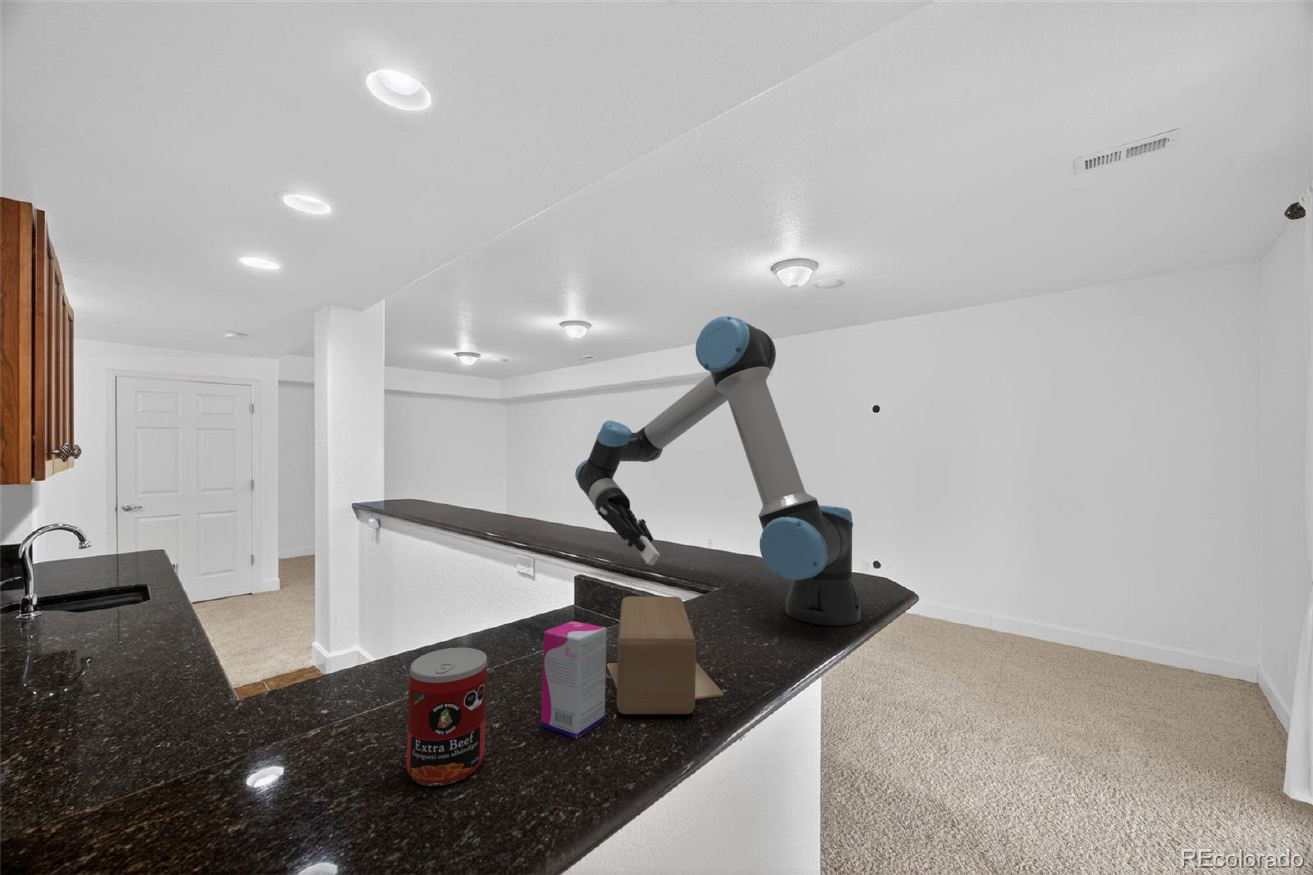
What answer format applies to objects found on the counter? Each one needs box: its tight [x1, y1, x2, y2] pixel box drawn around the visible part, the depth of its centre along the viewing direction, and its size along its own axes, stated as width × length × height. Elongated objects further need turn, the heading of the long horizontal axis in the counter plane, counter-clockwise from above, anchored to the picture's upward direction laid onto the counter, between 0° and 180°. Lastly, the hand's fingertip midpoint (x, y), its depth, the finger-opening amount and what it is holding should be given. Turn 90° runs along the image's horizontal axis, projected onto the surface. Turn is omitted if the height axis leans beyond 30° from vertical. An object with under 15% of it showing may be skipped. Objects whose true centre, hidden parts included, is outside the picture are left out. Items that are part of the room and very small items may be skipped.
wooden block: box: [616, 595, 697, 715], centre depth 76 cm, size 10×10×20 cm
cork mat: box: [606, 661, 725, 700], centre depth 78 cm, size 14×14×1 cm
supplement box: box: [540, 620, 608, 740], centre depth 65 cm, size 6×6×12 cm
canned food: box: [406, 647, 488, 783], centre depth 56 cm, size 8×8×11 cm
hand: (653, 559), depth 105 cm, fingers closed
